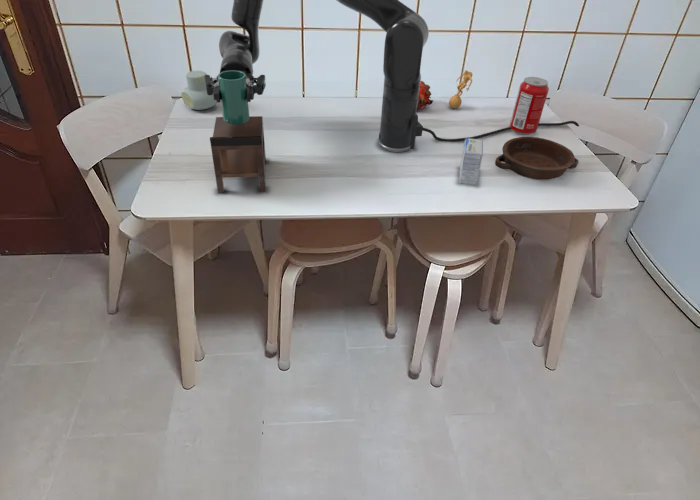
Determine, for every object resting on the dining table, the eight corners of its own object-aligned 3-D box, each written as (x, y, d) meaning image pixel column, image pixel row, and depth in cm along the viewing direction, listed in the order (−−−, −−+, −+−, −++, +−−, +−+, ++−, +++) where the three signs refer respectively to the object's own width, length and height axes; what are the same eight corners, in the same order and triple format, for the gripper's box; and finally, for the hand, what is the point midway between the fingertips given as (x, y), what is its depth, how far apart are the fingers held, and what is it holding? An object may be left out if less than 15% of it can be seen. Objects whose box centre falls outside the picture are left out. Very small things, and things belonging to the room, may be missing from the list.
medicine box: (476, 185, 123) (483, 154, 118) (458, 183, 124) (464, 151, 118) (476, 170, 129) (483, 139, 124) (459, 167, 130) (465, 137, 125)
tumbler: (249, 113, 116) (246, 70, 110) (249, 124, 112) (245, 80, 105) (224, 113, 115) (219, 70, 109) (222, 124, 111) (216, 80, 105)
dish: (482, 153, 137) (486, 136, 134) (558, 151, 139) (564, 135, 136) (505, 187, 123) (510, 169, 120) (589, 184, 126) (596, 167, 123)
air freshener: (180, 103, 154) (174, 71, 148) (204, 97, 158) (199, 65, 152) (197, 115, 148) (192, 82, 142) (222, 108, 152) (218, 76, 146)
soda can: (508, 134, 147) (522, 83, 137) (508, 123, 153) (521, 74, 143) (536, 138, 145) (551, 87, 136) (535, 126, 151) (549, 77, 142)
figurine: (443, 103, 163) (449, 65, 155) (460, 102, 164) (467, 65, 156) (453, 113, 156) (460, 75, 149) (471, 112, 158) (478, 74, 150)
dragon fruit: (415, 103, 166) (419, 123, 157) (396, 88, 161) (400, 109, 153) (433, 84, 161) (439, 104, 153) (414, 69, 157) (419, 89, 149)
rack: (265, 160, 129) (261, 109, 120) (265, 191, 118) (261, 137, 109) (222, 161, 128) (215, 109, 119) (217, 193, 116) (209, 138, 108)
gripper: (203, 53, 117) (196, 80, 104) (266, 54, 119) (266, 80, 106) (208, 85, 122) (201, 114, 109) (267, 84, 124) (268, 113, 111)
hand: (233, 97), depth 108 cm, fingers closed on tumbler, 6 cm apart
